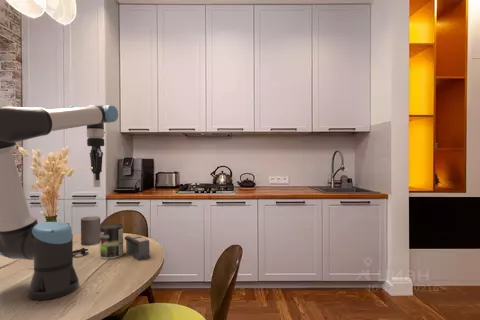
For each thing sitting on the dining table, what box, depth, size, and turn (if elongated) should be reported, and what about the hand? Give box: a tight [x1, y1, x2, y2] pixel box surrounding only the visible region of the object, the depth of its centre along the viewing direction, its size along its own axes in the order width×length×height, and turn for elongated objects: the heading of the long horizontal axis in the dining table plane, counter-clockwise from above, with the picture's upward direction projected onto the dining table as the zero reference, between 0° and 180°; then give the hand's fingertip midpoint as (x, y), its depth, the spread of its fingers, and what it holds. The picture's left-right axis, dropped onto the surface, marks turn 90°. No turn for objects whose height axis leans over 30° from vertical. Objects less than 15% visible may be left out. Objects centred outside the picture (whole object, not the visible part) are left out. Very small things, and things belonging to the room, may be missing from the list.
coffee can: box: [99, 223, 124, 260], centre depth 143 cm, size 10×10×14 cm
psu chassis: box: [124, 233, 151, 261], centre depth 142 cm, size 6×15×8 cm, turn 42°
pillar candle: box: [80, 215, 101, 246], centre depth 164 cm, size 10×10×15 cm
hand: (96, 186), depth 145 cm, fingers closed
